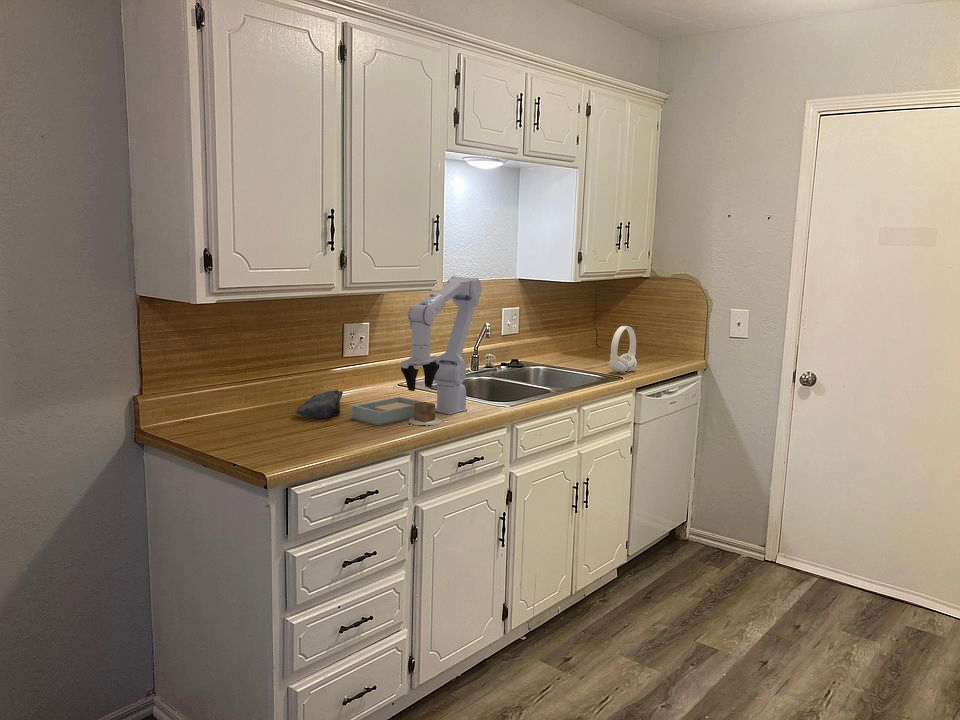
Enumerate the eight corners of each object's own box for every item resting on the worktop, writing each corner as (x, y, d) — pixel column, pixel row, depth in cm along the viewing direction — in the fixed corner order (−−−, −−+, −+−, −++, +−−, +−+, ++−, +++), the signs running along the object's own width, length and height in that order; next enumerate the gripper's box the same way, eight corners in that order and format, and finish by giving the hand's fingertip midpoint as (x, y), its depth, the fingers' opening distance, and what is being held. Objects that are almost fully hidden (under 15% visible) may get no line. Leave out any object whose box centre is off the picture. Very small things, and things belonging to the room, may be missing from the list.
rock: (352, 419, 237) (348, 405, 246) (344, 396, 234) (340, 383, 242) (303, 437, 235) (301, 422, 244) (294, 414, 231) (292, 400, 240)
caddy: (399, 408, 253) (399, 396, 252) (426, 415, 245) (427, 402, 244) (352, 418, 237) (352, 405, 237) (380, 425, 230) (380, 412, 229)
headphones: (639, 370, 340) (642, 325, 337) (620, 376, 325) (623, 328, 322) (623, 368, 344) (626, 323, 341) (603, 373, 330) (606, 327, 326)
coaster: (424, 416, 243) (424, 414, 243) (448, 422, 237) (448, 420, 237) (401, 421, 235) (401, 419, 235) (425, 427, 229) (425, 425, 229)
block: (424, 417, 239) (424, 401, 238) (434, 420, 236) (435, 403, 236) (413, 419, 236) (414, 403, 235) (424, 422, 233) (424, 406, 232)
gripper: (427, 340, 242) (426, 383, 244) (394, 345, 231) (393, 390, 233) (444, 343, 238) (443, 387, 240) (411, 348, 226) (410, 393, 229)
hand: (420, 388), depth 236 cm, fingers open, 7 cm apart
